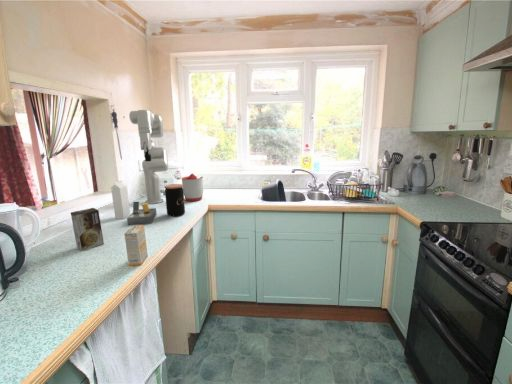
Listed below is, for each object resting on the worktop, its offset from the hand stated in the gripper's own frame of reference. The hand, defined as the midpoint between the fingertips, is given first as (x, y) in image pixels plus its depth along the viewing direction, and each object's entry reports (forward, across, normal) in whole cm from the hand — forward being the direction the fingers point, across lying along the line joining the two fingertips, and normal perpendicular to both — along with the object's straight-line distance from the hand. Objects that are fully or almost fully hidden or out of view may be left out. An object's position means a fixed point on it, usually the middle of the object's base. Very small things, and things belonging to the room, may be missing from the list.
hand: (148, 161), depth 167 cm
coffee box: (+32, +54, -18) cm, 65 cm away
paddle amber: (+28, +19, 0) cm, 34 cm away
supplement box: (+32, +75, +7) cm, 82 cm away
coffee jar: (+32, +13, +16) cm, 38 cm away
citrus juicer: (+32, -25, +26) cm, 48 cm away
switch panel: (+32, +19, -2) cm, 37 cm away
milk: (+32, +11, -16) cm, 37 cm away
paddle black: (+28, +19, -6) cm, 34 cm away
